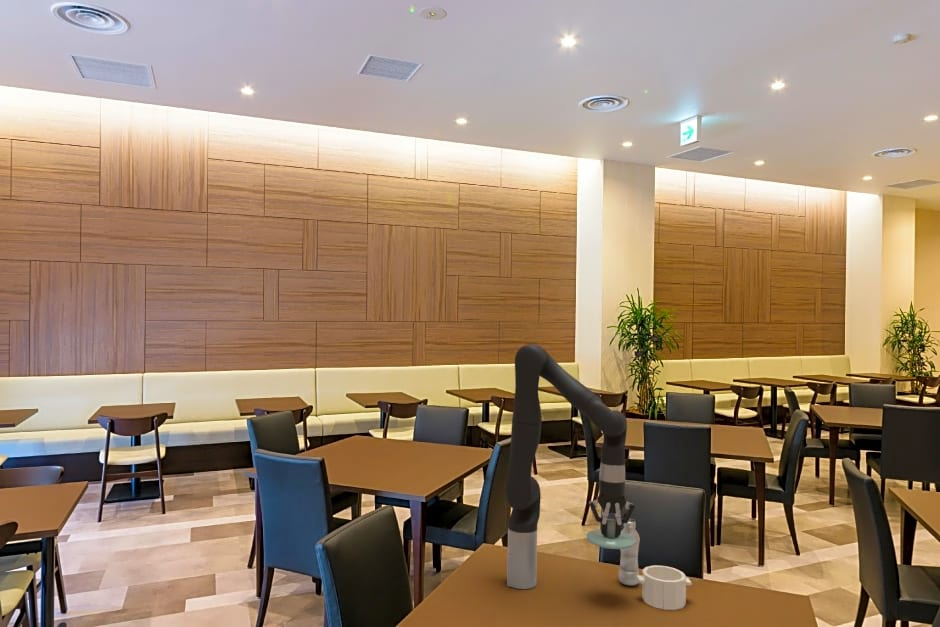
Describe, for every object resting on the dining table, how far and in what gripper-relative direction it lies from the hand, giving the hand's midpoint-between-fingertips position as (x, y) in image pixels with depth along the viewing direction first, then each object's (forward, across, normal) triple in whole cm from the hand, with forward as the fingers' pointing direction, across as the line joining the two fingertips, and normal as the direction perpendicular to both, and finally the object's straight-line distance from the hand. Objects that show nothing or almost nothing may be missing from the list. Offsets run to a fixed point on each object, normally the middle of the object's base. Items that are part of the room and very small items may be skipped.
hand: (610, 536), depth 182 cm
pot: (+19, +16, +1) cm, 25 cm away
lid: (+1, 0, 0) cm, 1 cm away
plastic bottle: (+19, +8, +12) cm, 24 cm away
